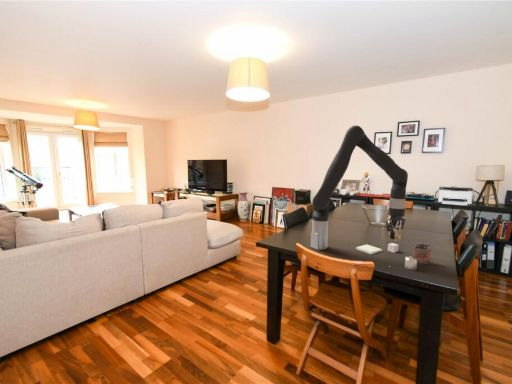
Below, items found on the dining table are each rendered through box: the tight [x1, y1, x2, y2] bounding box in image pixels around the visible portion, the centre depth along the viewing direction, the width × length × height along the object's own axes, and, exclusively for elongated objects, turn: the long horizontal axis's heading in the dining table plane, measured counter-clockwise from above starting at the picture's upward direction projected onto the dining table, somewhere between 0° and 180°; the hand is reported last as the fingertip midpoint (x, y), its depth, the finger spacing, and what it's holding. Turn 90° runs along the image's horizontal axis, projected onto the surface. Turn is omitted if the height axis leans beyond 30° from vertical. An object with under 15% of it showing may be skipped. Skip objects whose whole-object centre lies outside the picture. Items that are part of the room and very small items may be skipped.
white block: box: [387, 242, 399, 253], centre depth 147 cm, size 4×4×4 cm
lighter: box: [412, 242, 432, 265], centre depth 131 cm, size 8×3×10 cm, turn 69°
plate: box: [355, 244, 383, 255], centre depth 149 cm, size 10×10×1 cm
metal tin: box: [404, 255, 418, 271], centre depth 124 cm, size 5×5×5 cm
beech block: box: [388, 230, 402, 242], centre depth 134 cm, size 4×4×5 cm
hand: (394, 238), depth 134 cm, fingers closed on beech block, 4 cm apart
